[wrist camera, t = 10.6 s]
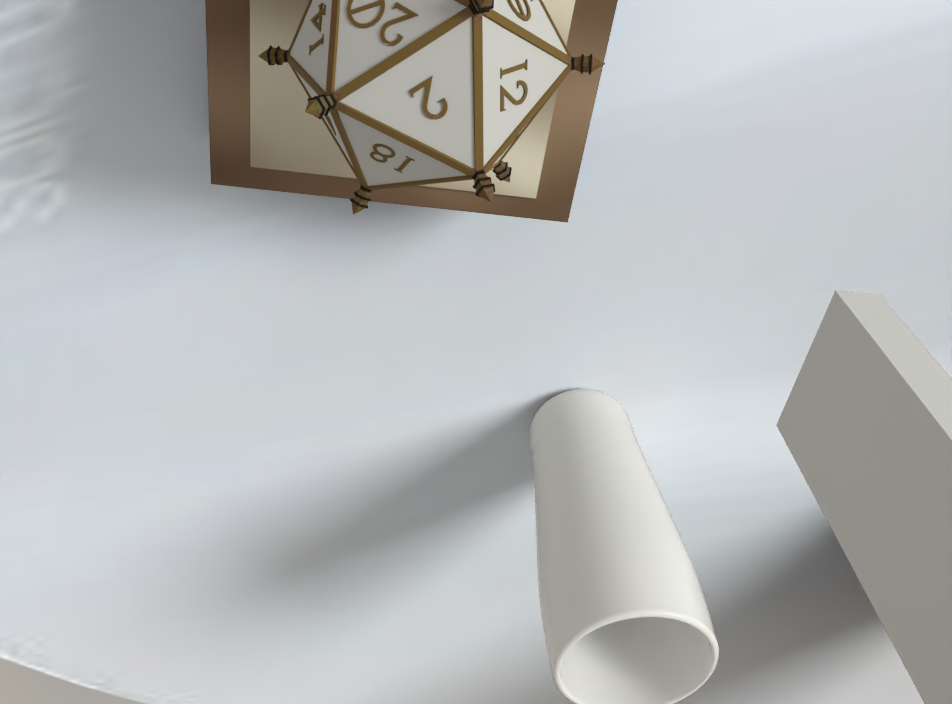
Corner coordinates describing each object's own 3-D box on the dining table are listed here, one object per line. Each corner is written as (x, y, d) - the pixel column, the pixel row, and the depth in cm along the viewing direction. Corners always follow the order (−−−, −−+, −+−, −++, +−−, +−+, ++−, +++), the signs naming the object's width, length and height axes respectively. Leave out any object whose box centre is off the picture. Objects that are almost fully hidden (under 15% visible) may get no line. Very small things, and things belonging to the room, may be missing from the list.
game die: (375, 21, 31) (149, 101, 24) (489, -204, 25) (228, -181, 18) (544, 201, 31) (363, 332, 24) (704, 18, 24) (518, 126, 18)
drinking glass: (583, 487, 49) (639, 734, 37) (489, 435, 46) (515, 683, 34) (666, 410, 46) (758, 651, 34) (571, 350, 43) (632, 588, 31)
